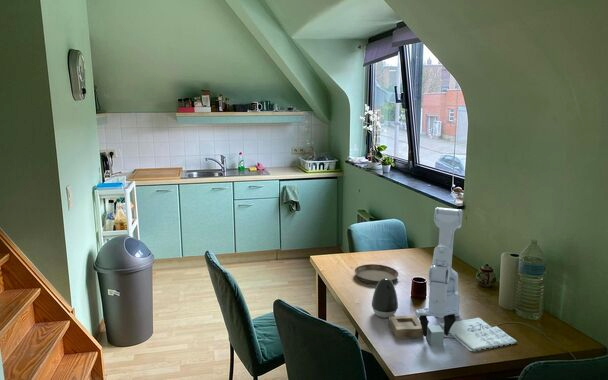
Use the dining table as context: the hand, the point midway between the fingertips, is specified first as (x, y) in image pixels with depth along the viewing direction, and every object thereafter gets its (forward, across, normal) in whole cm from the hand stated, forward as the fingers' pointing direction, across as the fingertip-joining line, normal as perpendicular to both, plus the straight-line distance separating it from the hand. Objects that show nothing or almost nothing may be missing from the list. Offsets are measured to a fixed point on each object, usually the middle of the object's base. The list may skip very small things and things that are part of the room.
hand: (435, 334), depth 161 cm
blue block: (+3, 0, 0) cm, 3 cm away
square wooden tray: (+3, -8, +8) cm, 12 cm away
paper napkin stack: (+3, +17, +4) cm, 18 cm away
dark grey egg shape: (+3, -13, +21) cm, 25 cm away
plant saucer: (+3, -7, +58) cm, 59 cm away
